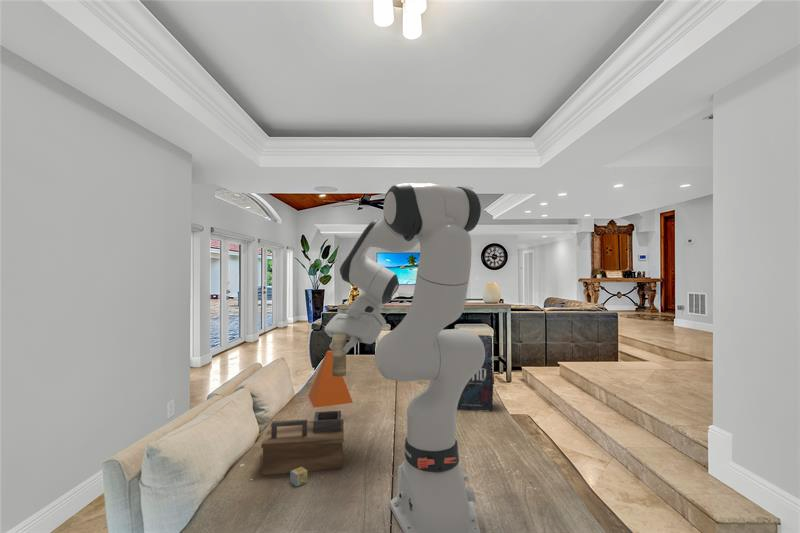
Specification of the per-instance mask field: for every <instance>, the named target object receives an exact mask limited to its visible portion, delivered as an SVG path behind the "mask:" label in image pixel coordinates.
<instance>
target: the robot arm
mask: <svg viewBox="0 0 800 533" xmlns="http://www.w3.org/2000/svg"><path fill="white" fill-rule="evenodd" d="M481 208H482V206H481V202H480V199H479V197H478V195H477V193H476V192H475V191H474V190H472V189H469V188H466V187H463V186H456V187H455V186H450V185H445V184H444V185H443V184H437V183H429V182H428V183H420V182H419V183H415V182H410V183H409V182H404V183H402V182H401V183H397V184H394V185H392V186H391V187H390V188H388V190H387V192H386V193H385V196H384V199H383V217H382V218H381V219H374V220H372V221H370V223H369V224H368V225H367V226H366V227H365V229H364V230H363V231H362V233H360V234H361V235H360V236H359V238H358V239H357V241H356V242H355V243H354V246H353V247H352V249H351V251H350V252H349V253H348V254H347V256H345V258H344V259H343V261H342V263H341V265H340V267H339V274H340V276H341V279H342V280H343V281H344V282H346V283H348V284H350V285H352V286H355V287H356V288H358V289H359V290H361V292H360V294H359V295H358V296H356V298H355V299H354V300H353V302H352V303H351V304H350V305H349V307H348V309H347V311H341V312H339V313H336V314H335V315H334V316H333V317H332V318H331V319H330V320H329V322H328V323H327V324H326V325H325V327H324V332H325V333H326V335H327V336H328V337H329V338H332V339H331V343H330V344H329V346H328V347H329V349H330V350H331V351H332V350H333V334H334V333H345V334H346V341H348V342H346V344H344V345H343V347H342V348H341V350H342V351H343V352H346V354H348V353H349V351H350V350H351V349H352V348H354V347H355V346H356V345H357V344H358V343H363V344H368V345H371V344H373V343H375V342H376V341H377V340H378V337H379V336H380V334H381V333H382V330H383V328H384V326H385V325H386V324H387V320H386V319H385V318H384V316H383V315H382V314H381V309H382V307H383V306H385V305H386V304H388V303H390V302H391V300H392V298H394V295H395V294H396V293H397V291H398V289H399V287H400V282H399V277H398V274H396V273H395V272H394V271H392V270H391V269H389V268H387V267H386V266H383V265H382V264H380V263H378V262H376V261H375V260H374V259H371V257H368V255H367V252H368V251H369V250H370V248H376V249H377V248H378V249H382V250H384V251H385V250H386V251H387V252H392V253H404V252H408V251H410V250H412V249H414V248H415V247H416V246H417V245H418V243H419V248H420V251H419V259H418V264H417V269H416V270H417V271H416V279H415V283H414V290H413V295H412V298H411V299H412V300H411V303H410V306H409V309H408V311H407V312H406V315H404V317H403V318H402V320H401V322H400V323H398V325H397V326H396V327H395V328H393V329H392V330H391V331H390V332H388V333H386V334H385V335H383V336H382V338H380V340H379V341H378V342H377V345H376V348H375V353H374V361H375V365H376V369H377V370H378V373H380V375H381V376H382V377H383V378H384V379H386V380H389V381H396V382H419V381H428V383H427V385H426V386H425V388H424V389H423V390H422V391H420V392H419V393H417V394H416V395H415V396H413V397H412V399H411V400H410V401H409V403H408V406H407V408H406V437H405V440H404V456H405V457H404V459H403V461H402V463H401V464H400V465H399V466H398V467H397V468H398V469H397V470H398V471H397V491H396V493H397V495H396V496H395V497H393V498H392V499H391V500H390V501H389V509H390V510H391V512H392V513H393V514H392V515H393V516H394V518H395V519H396V521H397V523H398V525H399V526H400V528H401V531H402V532H403V533H481V529H480V525H479V522H478V521H479V520H478V517H477V513H476V510H475V506H474V502H475V492H474V488H473V489H472V488H467V486H466V483H465V482H467V481H468V474H467V473H464V472H463V469H462V468H463V467H462V466H463V465H462V461H461V460H460V457H459V454H460V451H459V446H458V445H459V444H458V440H457V437H456V435H457V433H456V431H457V415H458V414H457V412H458V409H457V406H458V402H459V399H460V396H461V394H462V392H463V390H464V388H465V386H466V384H467V383H468V382H469V380H470V379H471V378H472V377H473V376H474V375H475V374H476V373H477V372H478V371H479V370H480V369H481V368H482V366H483V363H484V360H485V348H484V345H483V343H482V341H481V339H480V338H479V336H478V335H479V334H477V333H476V332H474V331H469V330H466V329H465V330H463V329H457V328H451V329H445V328H446V327H447V326H449V325H451V324H453V323H454V322H456V321H457V320H458V319H459V318H460V317H461V315H462V314H463V312H464V310H465V304H466V298H467V294H468V287H469V281H470V275H471V267H472V238H471V235H470V233H469V232H471V231H472V230H474V229H475V228H476V227H477V225H478V224H479V221H480V218H481V212H482V209H481Z"/></svg>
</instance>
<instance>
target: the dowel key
mask: <svg viewBox="0 0 800 533" xmlns="http://www.w3.org/2000/svg"><path fill="white" fill-rule="evenodd" d="M344 344H347V340H346V334H345V333H334V334H333V350H332V349H331V351H332V375H333V376H337V377H339V376H343V377H345V376H347V353H346V352H343V351H342V350H341V348H342V347H343V345H344Z"/></svg>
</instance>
